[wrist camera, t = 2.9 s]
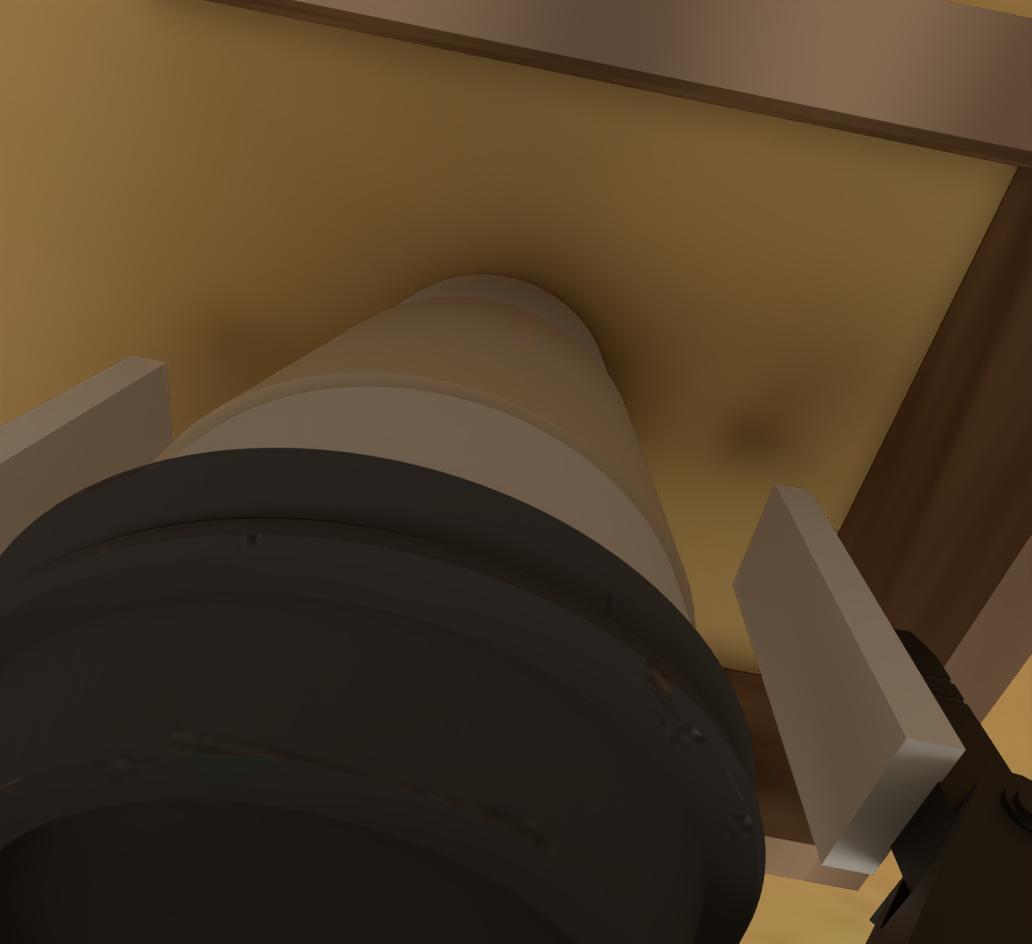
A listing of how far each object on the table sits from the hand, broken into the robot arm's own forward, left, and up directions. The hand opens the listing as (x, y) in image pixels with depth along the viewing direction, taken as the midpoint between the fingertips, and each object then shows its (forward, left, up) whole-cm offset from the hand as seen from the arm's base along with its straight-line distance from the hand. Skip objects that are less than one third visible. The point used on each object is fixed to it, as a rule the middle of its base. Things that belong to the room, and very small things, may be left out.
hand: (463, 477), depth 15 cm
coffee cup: (0, 0, -5) cm, 5 cm away
